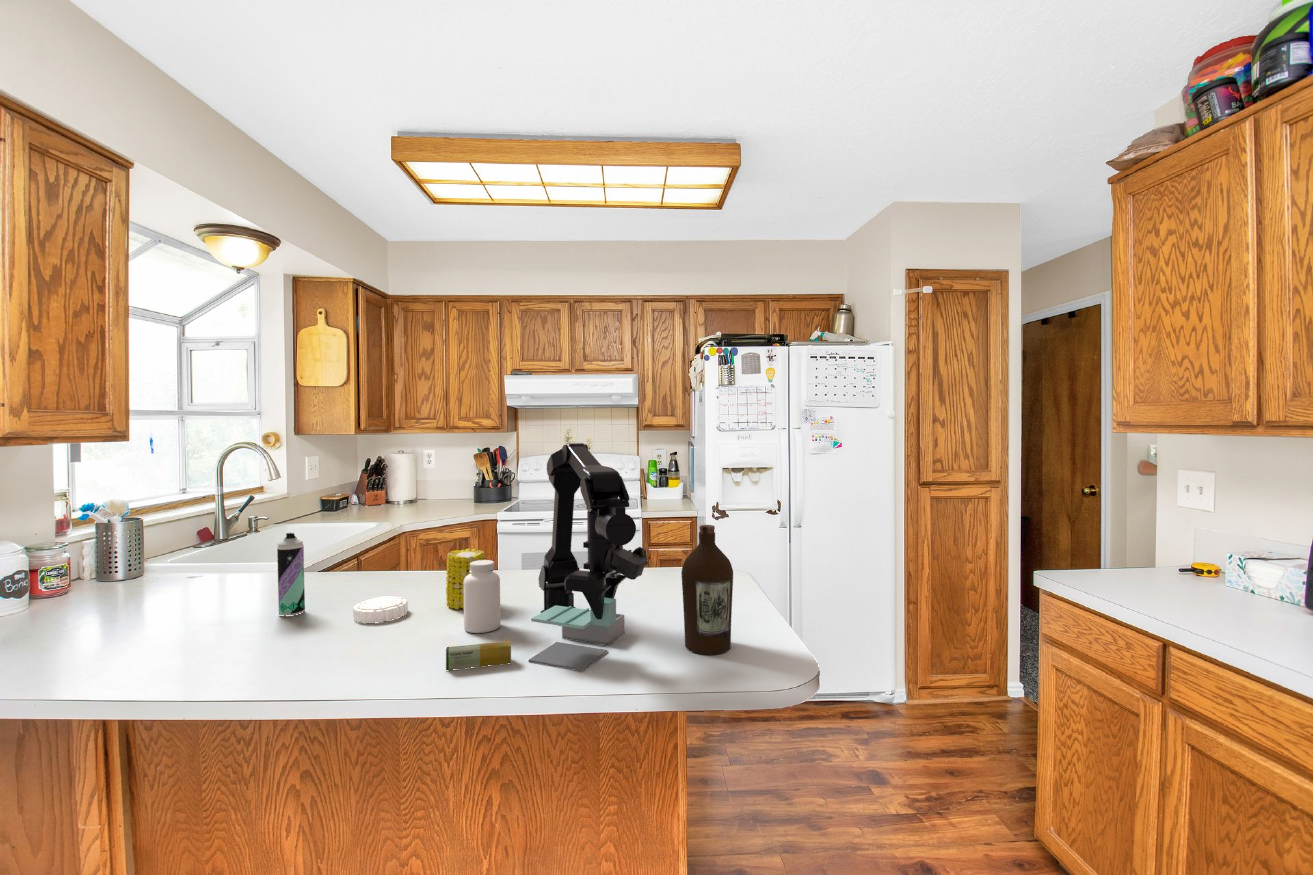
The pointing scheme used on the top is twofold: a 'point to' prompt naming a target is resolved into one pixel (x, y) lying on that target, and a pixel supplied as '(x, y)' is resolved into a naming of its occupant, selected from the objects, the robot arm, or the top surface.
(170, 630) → the top surface
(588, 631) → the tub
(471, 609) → the pill bottle
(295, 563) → the spray can
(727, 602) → the olive oil
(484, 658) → the medication box
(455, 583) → the food
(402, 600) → the mooncake
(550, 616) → the lid
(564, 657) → the mat
